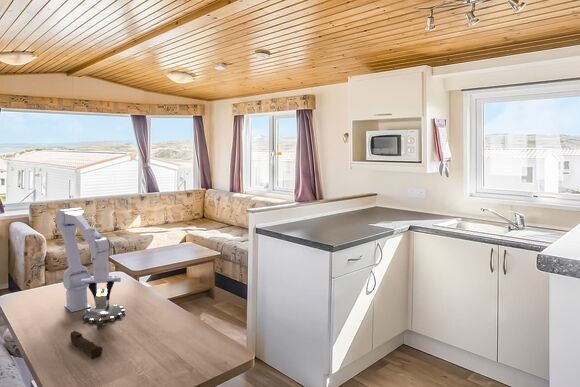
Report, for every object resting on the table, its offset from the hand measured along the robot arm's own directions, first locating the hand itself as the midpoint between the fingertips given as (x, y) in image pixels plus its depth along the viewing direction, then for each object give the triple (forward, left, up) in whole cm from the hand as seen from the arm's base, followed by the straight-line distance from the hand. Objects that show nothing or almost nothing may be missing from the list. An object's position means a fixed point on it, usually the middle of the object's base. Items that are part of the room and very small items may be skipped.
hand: (102, 299), depth 168 cm
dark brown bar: (+20, -16, -9) cm, 27 cm away
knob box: (0, 0, -2) cm, 2 cm away
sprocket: (-3, +2, -8) cm, 9 cm away
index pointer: (+7, -4, -8) cm, 12 cm away
